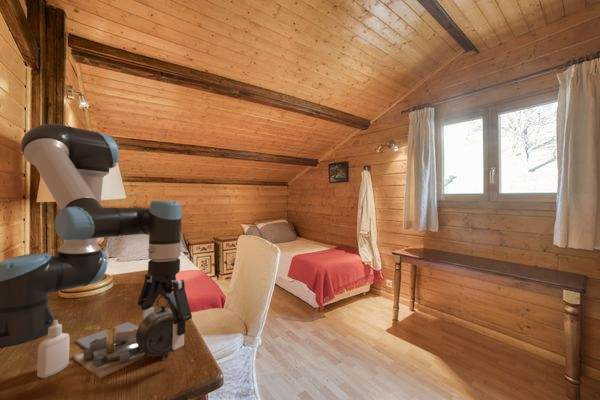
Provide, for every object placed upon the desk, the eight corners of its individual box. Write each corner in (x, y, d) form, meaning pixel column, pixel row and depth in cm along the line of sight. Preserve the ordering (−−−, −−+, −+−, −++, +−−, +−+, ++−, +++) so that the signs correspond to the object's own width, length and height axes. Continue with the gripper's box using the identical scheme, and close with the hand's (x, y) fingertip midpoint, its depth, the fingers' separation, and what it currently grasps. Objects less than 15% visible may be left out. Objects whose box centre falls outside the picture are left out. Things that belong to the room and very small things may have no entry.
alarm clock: (177, 345, 75) (179, 288, 75) (186, 352, 71) (188, 292, 72) (134, 361, 67) (136, 297, 67) (141, 371, 63) (144, 303, 63)
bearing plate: (72, 357, 68) (72, 354, 68) (133, 333, 81) (134, 330, 81) (99, 378, 60) (99, 374, 60) (162, 348, 73) (162, 345, 73)
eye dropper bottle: (70, 369, 63) (72, 319, 63) (37, 381, 59) (39, 327, 59) (67, 362, 66) (69, 314, 66) (35, 372, 62) (38, 321, 62)
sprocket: (85, 374, 60) (86, 339, 60) (81, 346, 71) (82, 317, 71) (157, 350, 70) (158, 321, 70) (144, 329, 81) (145, 304, 81)
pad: (75, 342, 75) (75, 339, 75) (128, 323, 87) (128, 321, 87) (88, 350, 71) (88, 348, 71) (141, 330, 83) (141, 327, 83)
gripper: (125, 255, 73) (122, 332, 72) (181, 267, 60) (178, 361, 59) (152, 251, 79) (149, 322, 79) (207, 262, 66) (205, 346, 66)
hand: (162, 339), depth 69 cm, fingers open, 13 cm apart
